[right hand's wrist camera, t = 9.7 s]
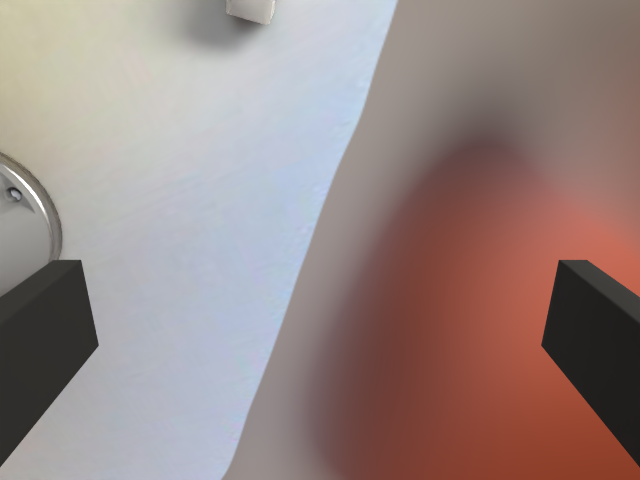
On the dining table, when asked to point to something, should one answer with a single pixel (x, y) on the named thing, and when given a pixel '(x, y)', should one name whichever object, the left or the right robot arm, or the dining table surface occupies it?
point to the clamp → (252, 9)
